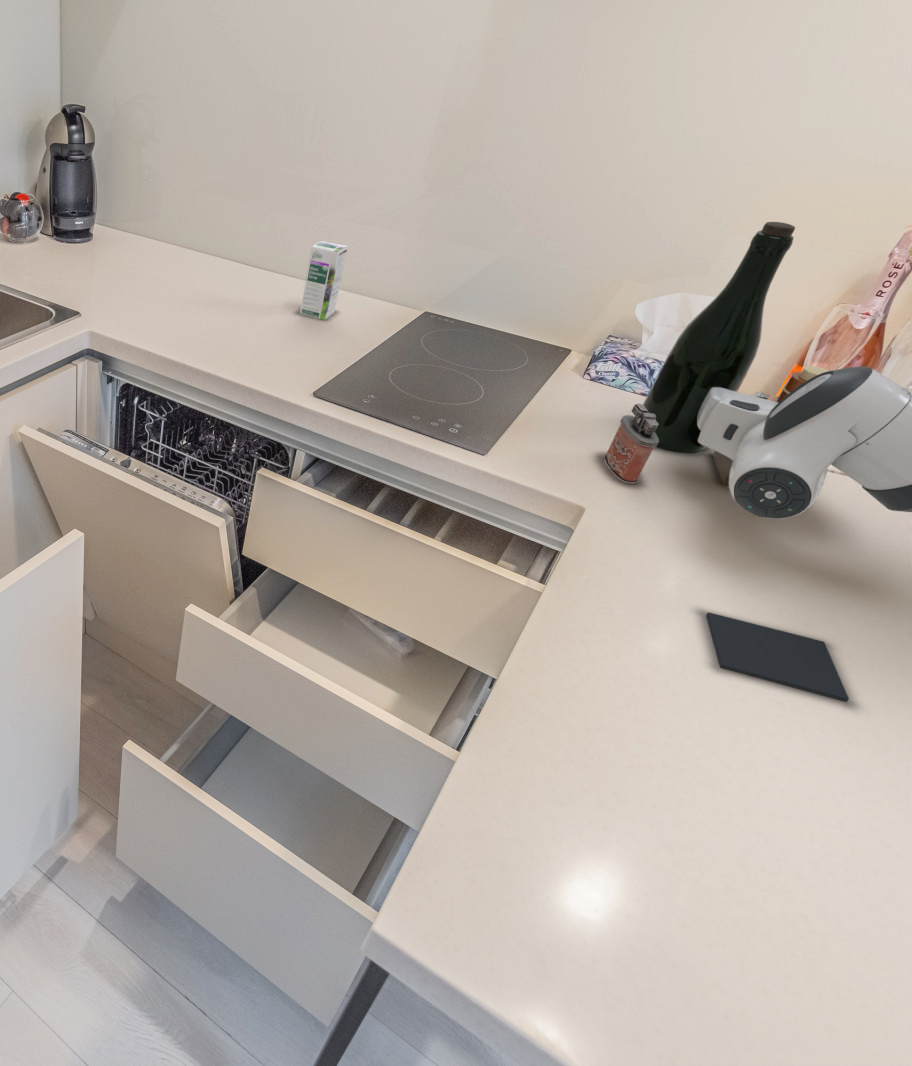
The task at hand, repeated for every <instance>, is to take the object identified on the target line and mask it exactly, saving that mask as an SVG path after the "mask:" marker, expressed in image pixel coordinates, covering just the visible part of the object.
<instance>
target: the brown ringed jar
mask: <svg viewBox="0 0 912 1066" xmlns="http://www.w3.org/2000/svg"><path fill="white" fill-rule="evenodd" d="M827 371H830V370H829V369H827V368H823V367H820V366H813V365H807V366H804V367H803V368H802V370H801V371H795V372H791V375H790V377H789V378H788V380H787V381H786V383H785V384H783V386H782V390H781V391H780V393H779V394H778V396H777V397H776V398H775V399H774V400H773V401H774V402H778V403H779V402H780V401H781V400H782V399H783V398H784V397H786V396H787V395H788V394H789V393H790V392H792V391H793V390H794V389H796V388H797V387H799V386H800V385H801V384H803V383H805V382H806V381H808V380H809V379H811V378H813V377H815V376H817V375H819V374H821V373H824V372H827Z"/></svg>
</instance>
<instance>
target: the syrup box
mask: <svg viewBox="0 0 912 1066" xmlns="http://www.w3.org/2000/svg"><path fill="white" fill-rule="evenodd" d="M348 248H349V247H348V245H344V244H338V243H333V242H329V241H326V240H325V241H324V240H321V241H318V242H316V243H315V244H313V245H312V246H311V248H310V255H309V261H308V265H307V271H306V277H305V284H304V290H303V293H302V294H303V295H302V300H301V305H300V310H299V315H303V316H306V317H310V318H315V319H319V320H322V321H325V320H326V319H328V318H329V317H331V316H332V315H333V314H334V313H335V310H336V305H337V301H338V295H339V291H340V286H341V282H342V277H343V271H344V266H345V262H346V256H347V252H348Z"/></svg>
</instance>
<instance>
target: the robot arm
mask: <svg viewBox="0 0 912 1066" xmlns="http://www.w3.org/2000/svg"><path fill="white" fill-rule="evenodd" d="M769 397H770V394H769V393H764V392H761V391H757V390H756V392H755V394H748V393H743V392H739V391H738V392H736V391H732V390H728V389H725V388H721V387H714V388H711V389H710V390H709V392H708V394H707V396H706V397H705V399H704V401H703V403H702V405H701V407H700V409H699V412H698V416H697V426H698V428H699V429H700V430H701V432H700V435H699V438H698V442H699V443H700V444H701V445H703V446H706V448H709V449H710V450H712V451H717V452H719V453H721V454H723V455H725V456H726V457H728V458H730V459H731V460H733V463H732V466H731V469H730V474H729V485H728V489H729V492H730V495H731V497H732V499H733V501H734V502H735V503H736V504H737V506H739V507H740V508H741V509H743V510H744V511H745V512H747V513H748V514H749V513H750V514H752V515H754V516H757V517H760V518H764V519H771V520H785V519H791V518H793V517H797V516H800V515H801V514H803V513H804V512H806V511H807V510H808V509H809V508H810V507H811V506H812V505H813V504H814V503H815V501H816V500H817V498H818V497H819V496H820V493H821V491H822V489H823V487H824V485H825V482H826V478H827V475H828V472H829V471H828V470H829V467H830V466H832V467H834V468H835V469H837V470H839V471H840V472H841V473H843V474H844V475H846V476H847V477H848V478H850V479H851V480H853V481H855V482H856V483H857V484H859V485H860V486H861V488H862V489H863V490H864V491H865V492H867V493H868V494H869V495H870V496H871V497H873V499H875V500H876V501H877V502H879V503H880V504H881V505H882V506H883V507H885V508H886V509H887V510H889V511H892V512H893V511H894V512H903V513H912V393H911V391H909V390H908V389H906V388H904V387H903V386H901V385H899V384H898V383H897V382H895V381H894V380H892V379H890V378H889V377H887V376H885V375H884V374H882V373H881V372H879V371H877V370H875V369H874V368H872V367H871V366H851V367H842V368H838V369H837V368H836V369H832V370H829V371H827V372H824V373H821V374H819V375H817V376H815V377H813V378H811V379H809V380H808V381H806V382H805V383H803V384H801V385H800V386H799V387H797V388H796V389H794V390H793V391H792V392H790V393H789V394H788V395H787V396H786V397H784V398H783V399H782V400H781V401H780V402H779V403H778V402H774V400H770V399H769Z"/></svg>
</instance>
